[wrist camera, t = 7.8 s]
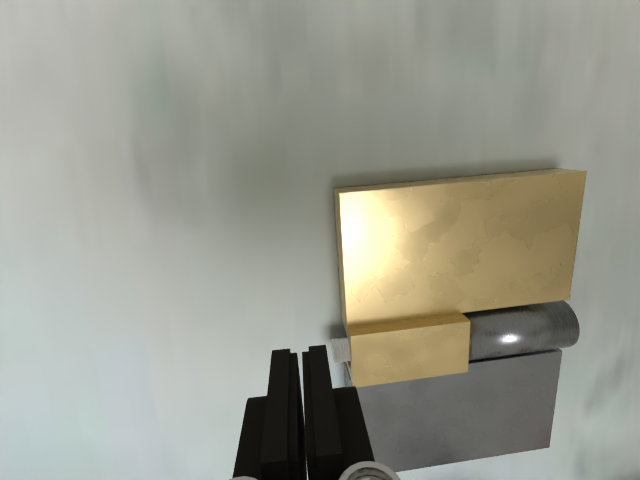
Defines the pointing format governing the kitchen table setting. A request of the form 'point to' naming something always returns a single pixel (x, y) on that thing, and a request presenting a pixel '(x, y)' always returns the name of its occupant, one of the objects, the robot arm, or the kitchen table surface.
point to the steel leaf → (474, 392)
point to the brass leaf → (447, 263)
